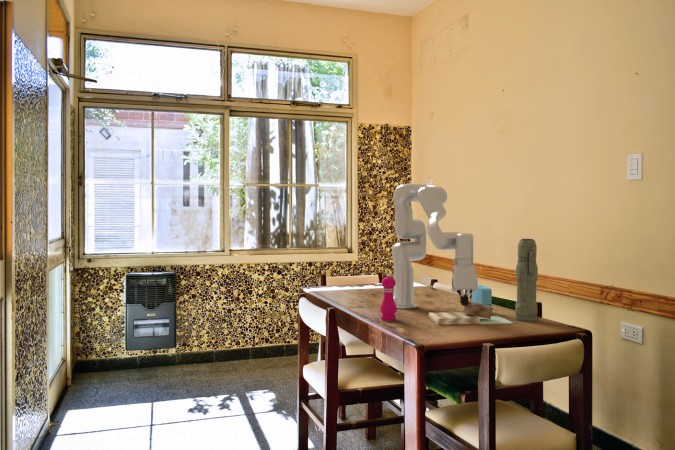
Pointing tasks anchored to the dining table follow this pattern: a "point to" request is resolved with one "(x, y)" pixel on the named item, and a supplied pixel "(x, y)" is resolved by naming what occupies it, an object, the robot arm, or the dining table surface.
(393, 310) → the pepper mill
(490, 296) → the data package
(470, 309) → the walnut box
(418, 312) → the dining table surface
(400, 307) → the robot arm
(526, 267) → the stone moai statue
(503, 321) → the mat
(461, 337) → the dining table surface
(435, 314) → the board
